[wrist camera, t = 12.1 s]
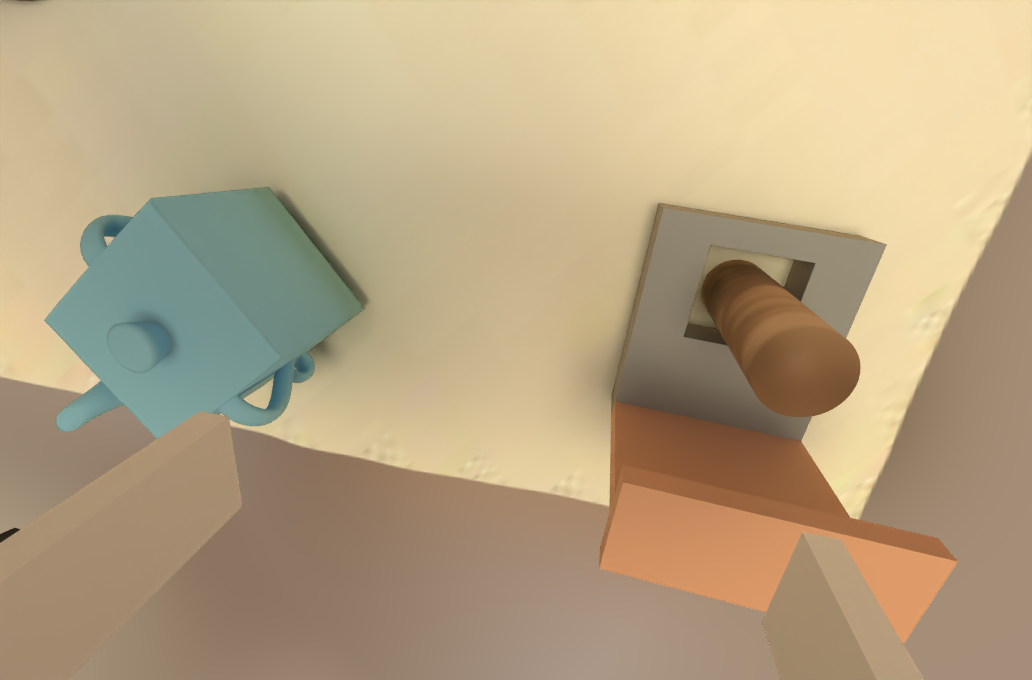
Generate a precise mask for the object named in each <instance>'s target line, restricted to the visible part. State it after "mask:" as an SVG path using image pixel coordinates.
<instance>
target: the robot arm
mask: <svg viewBox="0 0 1032 680" xmlns="http://www.w3.org/2000/svg"><path fill="white" fill-rule="evenodd" d="M21 1H28V0H21ZM241 507H242V501H241V494H240V488H239V481H238V475H237V468H236V462H235V455H234V448H233V442H232V435H231V428H230V422H229V417H227V416H222V415H217V414H212V413H207V412H202V411H199V412H198V413H196V414H195V415H193V416H192V417H190V418H189V419H187V420H186V421H184V422H183V423H181V424H179V425H178V426H176V427H175V428H173V429H172V430H170V431H169V432H167V433H166V434H164V435H163V436H161V437H160V438H158V439H157V440H155V441H154V442H152V443H151V444H149V445H148V446H146V447H145V448H143V449H142V450H140V451H139V452H137V453H136V454H134V455H133V456H131V457H130V458H128V459H127V460H125V461H123V462H122V463H120V464H119V465H118V466H116V467H114V468H113V469H111V470H110V471H108V472H107V473H105V474H104V475H102V476H101V477H99V478H98V479H96V480H95V481H93V482H92V483H90V484H89V485H87V486H86V487H84V488H83V489H81V490H80V491H78V492H77V493H75V494H74V495H72V496H71V497H69V498H68V499H66V500H65V501H63V502H61V503H60V504H58V505H57V506H56V507H54V508H52V509H51V510H49V511H48V512H46V513H45V514H43V515H42V516H40V517H39V518H37V519H36V520H34V521H33V522H31V523H30V524H28V525H27V526H25V527H24V528H22V529H17V528H13V529H11V530H9V531H6V532H4V533H2V534H0V680H69V679H70V678H71V677H72V675H74V673H76V671H78V669H80V668H81V667H82V666H83V665H84V664H85V663H86V662H87V660H89V659H90V658H91V657H92V656H93V655H94V654H95V653H96V652H97V650H99V649H100V648H101V647H102V645H103V644H104V643H106V642H107V640H109V639H110V638H111V637H112V636H113V635H114V634H115V633H116V632H117V631H118V630H119V629H120V628H121V627H122V626H123V625H124V624H125V623H126V621H128V620H129V619H130V618H131V617H132V616H133V615H134V614H135V613H136V612H137V611H138V610H139V609H140V608H141V607H142V606H143V605H144V604H145V603H146V601H148V600H149V599H150V598H151V597H152V596H153V595H154V594H155V593H156V592H157V591H158V590H159V589H160V588H161V587H162V586H163V585H164V584H165V583H166V582H167V581H168V580H169V579H170V578H171V577H172V576H173V575H174V574H175V573H176V572H177V571H178V570H179V569H180V568H181V567H182V566H183V565H184V564H185V563H186V562H187V561H188V560H189V559H190V558H191V557H192V556H193V555H194V553H196V552H197V551H198V550H199V549H200V548H201V547H202V546H203V545H204V544H205V543H206V542H207V541H208V540H209V539H210V538H211V537H212V536H213V535H214V534H215V533H216V532H217V531H218V530H219V529H220V528H221V527H222V526H223V525H224V524H225V523H226V521H228V520H229V519H230V518H231V517H232V516H233V515H234V514H235V513H236V512H237V511H238V510H239V509H240V508H241ZM762 624H763V627H764V631H765V634H766V637H767V640H768V643H769V646H770V649H771V652H772V655H773V658H774V661H775V665H776V668H777V671H778V674H779V677H780V680H924V679H923V677H922V675H921V674H920V672H919V671H918V669H917V667H916V665H915V664H914V662H913V660H912V659H911V657H910V655H909V653H908V652H907V650H906V648H905V647H904V645H903V643H902V642H901V640H900V638H899V636H898V635H897V633H896V631H895V630H894V628H893V626H892V625H891V623H890V621H889V620H888V618H887V616H886V614H885V613H884V611H883V609H882V608H881V606H880V604H879V603H878V601H877V599H876V597H875V596H874V594H873V592H872V591H871V589H870V587H869V586H868V584H867V582H866V581H865V579H864V577H863V575H862V574H861V572H860V570H859V569H858V567H857V565H856V564H855V562H854V560H853V559H852V557H851V555H850V553H849V552H848V550H847V548H846V547H845V545H844V543H843V542H842V540H841V539H836V538H831V537H826V536H821V535H816V534H811V533H806V532H802V534H801V536H800V538H799V541H798V543H797V545H796V547H795V549H794V552H793V554H792V556H791V558H790V561H789V563H788V565H787V567H786V569H785V572H784V574H783V576H782V578H781V581H780V583H779V585H778V587H777V589H776V592H775V594H774V596H773V598H772V601H771V603H770V605H769V607H768V609H767V612H766V614H765V616H764V619H763V621H762Z"/></svg>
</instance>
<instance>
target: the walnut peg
mask: <svg viewBox="0 0 1032 680" xmlns="http://www.w3.org/2000/svg"><path fill="white" fill-rule="evenodd" d="M702 300H703V303H704V305H705V307H706V308H707V310H708V312H709V314H710V315H711V317H712V319H713V321H714V322H715V324H716V326H717V328H718V330H719V331H720V333H721V335H722V337H723V338H724V340H725V342H726V344H727V345H728V347H729V349H730V351H731V352H732V354H733V356H734V358H735V359H736V361H737V363H738V365H739V367H740V368H741V370H742V372H743V374H744V375H745V377H746V379H747V381H748V382H749V384H750V386H751V388H752V389H753V391H754V393H755V395H756V396H757V398H758V399H759V400H760V402H761V403H762V404H763V405H765V406H766V407H767V408H769V409H770V410H772V411H774V412H776V413H779V414H781V415H785V416H790V417H810V416H815V415H819V414H822V413H825V412H827V411H829V410H831V409H833V408H835V407H837V406H838V405H840V404H841V403H842V402H843V401H845V400H846V398H847V397H848V396H849V395H850V394H851V393H852V391H853V390H854V388H855V386H856V385H857V382H858V379H859V375H860V360H859V356H858V354H857V352H856V350H855V348H854V347H853V345H852V344H851V343H850V342H849V341H848V340H847V339H846V338H845V337H843V336H842V335H841V334H840V333H838V332H837V331H836V330H835V329H833V328H832V327H831V326H830V325H829V324H827V323H826V322H825V321H824V320H822V319H821V318H820V317H819V316H818V315H816V314H815V313H814V312H813V311H811V310H810V309H809V308H808V307H806V306H805V305H804V304H803V303H802V302H800V301H799V300H798V299H797V298H795V297H794V296H793V295H792V294H791V293H789V292H788V291H787V290H786V289H784V288H783V287H782V286H781V285H779V284H778V283H777V282H776V281H775V280H773V279H772V278H771V277H770V276H768V275H767V274H766V273H765V272H764V271H762V270H761V269H760V268H759V267H757V266H756V265H754V264H753V263H750V262H748V261H743V260H733V261H728V262H725V263H722V264H720V265H718V266H717V267H715V268H714V269H713V270H712V271H711V272H710V273H709V274H708V275H707V277H706V278H705V280H704V283H703V286H702Z"/></svg>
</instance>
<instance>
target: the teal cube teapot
mask: <svg viewBox="0 0 1032 680" xmlns="http://www.w3.org/2000/svg"><path fill="white" fill-rule="evenodd" d="M104 236H110V237H115V238H114V239H113V241H112V242H111V243H110V244H109V245H108V246H107V245H106V242H105V240H104ZM80 248H81V253H82V256H83V259H84V260H85V262H86V263H87V265H88V266H89V268H88V269H87V270H86V271H85V272H84V274H83V275H82V276H81V277H80V278H79V279H78V281H77V282H76V283H75V284H74V285H73V286H72V288H71V289H70V290H69V291H68V292H67V293H66V295H65V296H64V297H63V298H62V299H61V300H60V302H59V303H58V304H57V305H56V306H55V308H54V309H53V310H52V311H51V312H50V314H49V315H48V316H47V318H46V319H45V320H44V321H45V322H46V323H47V324H48V325H49V326H50V327H51V328H52V329H53V330H54V331H55V332H56V333H57V334H58V335H59V336H60V337H61V338H62V339H63V340H64V341H65V342H66V344H67V345H68V346H69V347H70V348H71V349H72V350H73V351H74V352H75V353H76V354H77V355H78V356H79V357H80V359H81V360H82V361H83V362H84V363H85V364H86V365H87V366H88V367H89V368H90V369H91V370H92V371H93V372H94V373H95V375H96V376H97V377H98V378H99V379H100V380H101V381H100V382H99V383H98V384H97V385H95V386H94V387H93V388H91V389H90V390H89V391H87V392H86V393H85V394H83V395H82V396H80V397H79V398H78V399H76V400H75V401H73V402H72V403H71V404H69V405H68V406H66V407H65V408H64V409H63V410H62V411H61V412H60V413H59V415H58V417H57V419H56V426H57V428H58V429H59V430H61V431H63V432H69V431H72V430H75V429H77V428H79V427H80V426H82V425H84V424H85V423H87V422H89V421H90V420H92V419H93V418H95V417H97V416H99V415H101V414H103V413H105V412H107V411H109V410H112V409H114V408H116V407H119V406H121V405H125V406H126V407H127V408H128V409H129V410H130V411H131V412H132V413H133V414H134V416H136V418H138V419H139V421H140V422H141V423H142V424H143V425H144V426H145V427H146V428H147V429H148V430H149V431H150V432H151V433H152V434H153V435H154V436H155V437H156V438H157V439H158V438H160V437H161V436H163V435H164V434H166V433H167V432H169V431H170V430H172V429H173V428H175V427H176V426H178V425H179V424H181V423H183V422H184V421H186V420H187V419H189V418H190V417H192V416H193V415H195V414H196V413H198V412H199V411H202V412H207V413H212V414H217V415H219V414H220V413H222V414H223V415H225V416H227V417H229V419H230V420H232V421H234V422H236V423H239V424H242V425H247V426H261V425H265V424H268V423H271V422H272V421H274V420H276V419H277V418H278V417H279V416H280V415H281V414H282V413H283V412H284V410H285V408H286V407H287V405H288V402H289V399H290V395H291V389H292V382H294V383H301V382H304V381H306V380H308V379H309V378H310V377H311V376H312V374H313V372H314V369H315V364H314V361H313V359H312V357H311V356H310V355H309V353H308V351H309V350H311V349H312V348H313V347H315V346H316V345H317V344H319V343H320V342H321V341H323V340H324V339H325V338H326V337H328V336H329V335H330V334H332V333H333V332H334V331H336V330H337V329H338V328H340V327H341V326H342V325H343V324H345V323H346V322H347V321H349V320H350V319H351V318H353V317H354V316H355V315H357V314H358V313H359V312H360V311H362V310H363V309H364V307H363V306H362V304H361V303H360V302H359V301H358V299H357V298H356V297H355V296H354V294H353V293H352V292H351V290H350V289H349V288H348V287H347V285H346V284H345V283H344V282H343V280H342V279H341V278H340V277H339V275H338V274H337V273H336V272H335V270H334V269H333V268H332V266H331V265H330V264H329V263H328V261H327V260H326V259H325V258H324V256H323V255H322V254H321V252H320V251H319V250H318V249H317V247H316V246H315V245H314V244H313V242H312V241H311V240H310V239H309V237H308V236H307V235H306V234H305V232H304V231H303V230H302V228H301V227H300V226H299V225H298V223H297V222H296V221H295V220H294V218H293V217H292V216H291V214H290V213H289V212H288V211H287V209H286V208H285V207H284V206H283V204H282V203H281V202H280V201H279V199H278V198H277V197H276V195H275V194H274V193H273V192H272V190H271V189H270V188H269V187H266V188H255V189H245V190H234V191H223V192H213V193H202V194H191V195H181V196H170V197H159V198H151V199H150V200H149V201H148V202H147V203H146V204H145V205H144V206H143V207H142V208H141V210H140V211H139V212H138V213H137V214H136V215H135V216H134V217H128V216H122V215H106V216H102V217H99V218H97V219H95V220H94V221H92V222H91V223H90V224H89V225H88V226H87V228H86V229H85V230H84V232H83V235H82V237H81V243H80ZM294 367H295V368H296V369H297V370H296V369H295V368H294ZM272 378H274V381H273V389H272V395H271V399H270V402H269V405H268V407H267V409H261V408H258V407H255V406H253V405H251V404H249V403H247V402H246V401H245V400H243V398H245V397H246V396H248V395H249V394H251V393H253V392H254V391H256V390H257V389H259V388H260V387H262V386H263V385H265V384H266V383H267V382H268V381H270V380H271V379H272Z"/></svg>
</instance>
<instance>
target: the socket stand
mask: <svg viewBox="0 0 1032 680" xmlns="http://www.w3.org/2000/svg"><path fill="white" fill-rule="evenodd" d="M710 245H713V246H719V247H725V248H731V249H737V250H743V251H748V252H754V253H760V254H766V255H772V256H778V257H783V258H789V259H795V261H794V264H793V267H792V269H791V272H790V275H789V277H788V280H787V283H786V286H785V288H784V289H786V290H787V291H788V292H789V293H791V294H792V295H793V296H794V297H795V298H797V299H798V300H799V301H800V302H802V303H803V304H804V305H805V306H806V307H808V308H809V309H810V310H811V311H813V312H814V313H815V314H816V315H818V316H819V317H820V318H821V319H822V320H824V321H825V322H826V323H827V324H829V325H830V326H831V327H832V328H833V329H835V330H836V331H837V332H838V333H840V334H841V335H842V336H843V337H845V338H846V337H847V335H848V332H849V330H850V328H851V325H852V323H853V321H854V319H855V316H856V314H857V312H858V309H859V307H860V305H861V302H862V300H863V298H864V296H865V293H866V291H867V289H868V286H869V284H870V282H871V279H872V277H873V275H874V273H875V270H876V268H877V266H878V263H879V261H880V259H881V257H882V254H883V252H884V250H885V247H886V244H883V243H880V242H877V241H874V240H871V239H868V238H865V237H862V236H857V235H851V234H845V233H839V232H833V231H827V230H821V229H814V228H808V227H802V226H796V225H790V224H784V223H778V222H771V221H765V220H759V219H753V218H747V217H741V216H735V215H728V214H722V213H716V212H710V211H704V210H698V209H692V208H686V207H679V206H673V205H667V204H661V203H659V206H658V210H657V214H656V219H655V223H654V227H653V231H652V235H651V239H650V243H649V247H648V251H647V255H646V259H645V263H644V267H643V271H642V275H641V279H640V283H639V287H638V292H637V296H636V300H635V304H634V308H633V312H632V316H631V320H630V324H629V328H628V332H627V336H626V340H625V344H624V348H623V352H622V356H621V360H620V365H619V369H618V373H617V377H616V381H615V385H614V389H613V393H612V406H611V461H610V514H609V517H608V521H607V525H606V528H605V532H604V536H603V539H602V543H601V546H600V560H599V569H603V570H607V571H611V572H615V573H618V574H622V575H626V576H630V577H633V578H637V579H641V580H645V581H649V582H653V583H656V584H660V585H664V586H668V587H672V588H676V589H680V590H684V591H687V592H691V593H695V594H699V595H702V596H706V597H710V598H714V599H718V600H722V601H725V602H729V603H733V604H737V605H741V606H744V607H748V608H752V609H756V610H760V611H764V612H767V609H768V607H769V605H770V603H771V601H772V598H773V596H774V594H775V592H776V589H777V587H778V585H779V583H780V581H781V578H782V576H783V574H784V572H785V569H786V567H787V565H788V563H789V561H790V558H791V556H792V554H793V552H794V549H795V547H796V545H797V543H798V541H799V538H800V536H801V534H802V532H806V533H811V534H816V535H821V536H826V537H831V538H836V539H841V540H842V542H843V543H844V545H845V547H846V548H847V550H848V552H849V553H850V555H851V557H852V559H853V560H854V562H855V564H856V565H857V567H858V569H859V570H860V572H861V574H862V575H863V577H864V579H865V581H866V582H867V584H868V586H869V587H870V589H871V591H872V592H873V594H874V596H875V597H876V599H877V601H878V603H879V604H880V606H881V608H882V609H883V611H884V613H885V614H886V616H887V618H888V620H889V621H890V623H891V625H892V626H893V628H894V630H895V631H896V633H897V635H898V636H899V638H900V640H901V642H902V643H903V644H904V643H905V641H906V640H907V638H908V637H909V635H910V634H911V632H912V631H913V629H914V628H915V626H916V625H917V623H918V622H919V620H920V618H921V617H922V615H923V614H924V612H925V611H926V609H927V608H928V606H929V605H930V603H931V602H932V600H933V598H934V597H935V596H936V594H937V593H938V591H939V590H940V588H941V586H942V585H943V583H944V582H945V580H946V579H947V577H948V576H949V574H950V573H951V571H952V570H953V568H954V566H955V565H956V564H957V562H958V561H957V560H956V559H955V558H954V556H953V555H952V554H951V553H950V552H949V551H948V549H947V548H946V547H945V546H944V545H943V543H942V542H941V541H940V540H939V539H938V538H934V537H930V536H926V535H921V534H917V533H913V532H908V531H904V530H900V529H896V528H891V527H887V526H883V525H879V524H874V523H869V522H866V521H861V520H857V519H853V518H850V516H849V515H848V513H847V512H846V510H845V509H844V507H843V506H842V504H841V502H840V501H839V499H838V498H837V496H836V495H835V493H834V492H833V490H832V489H831V487H830V485H829V484H828V482H827V481H826V479H825V478H824V476H823V475H822V473H821V472H820V470H819V468H818V467H817V465H816V464H815V462H814V461H813V459H812V458H811V456H810V454H809V453H808V451H807V450H806V448H805V447H804V445H803V444H802V442H801V440H802V438H803V436H804V433H805V431H806V429H807V426H808V424H809V422H810V420H811V417H812V416H810V417H790V416H785V415H781V414H779V413H776V412H774V411H772V410H770V409H769V408H767V407H766V406H765V405H763V404H762V403H761V402H760V400H759V399H758V398H757V396H756V395H755V393H754V391H753V389H752V388H751V386H750V384H749V382H748V381H747V379H746V377H745V375H744V374H743V372H742V370H741V368H740V367H739V365H738V363H737V361H736V359H735V358H734V356H733V354H732V352H731V351H730V349H729V347H728V345H727V344H726V342H725V340H724V338H723V337H722V335H721V333H720V331H719V330H718V329H713V328H708V327H703V326H698V325H692V324H687V323H688V320H689V316H690V313H691V310H692V306H693V303H694V299H695V296H696V293H697V289H698V286H699V283H700V279H701V276H702V272H703V269H704V266H705V262H706V259H707V255H708V252H709V249H710Z"/></svg>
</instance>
